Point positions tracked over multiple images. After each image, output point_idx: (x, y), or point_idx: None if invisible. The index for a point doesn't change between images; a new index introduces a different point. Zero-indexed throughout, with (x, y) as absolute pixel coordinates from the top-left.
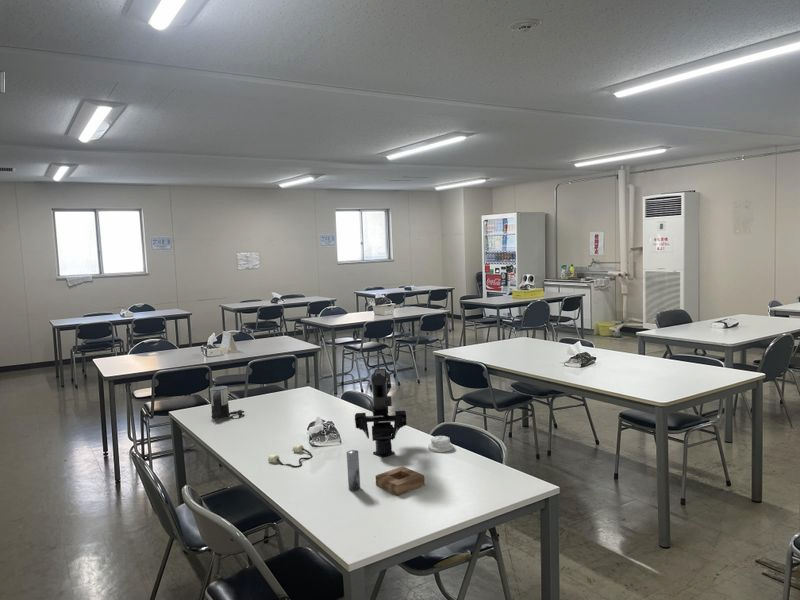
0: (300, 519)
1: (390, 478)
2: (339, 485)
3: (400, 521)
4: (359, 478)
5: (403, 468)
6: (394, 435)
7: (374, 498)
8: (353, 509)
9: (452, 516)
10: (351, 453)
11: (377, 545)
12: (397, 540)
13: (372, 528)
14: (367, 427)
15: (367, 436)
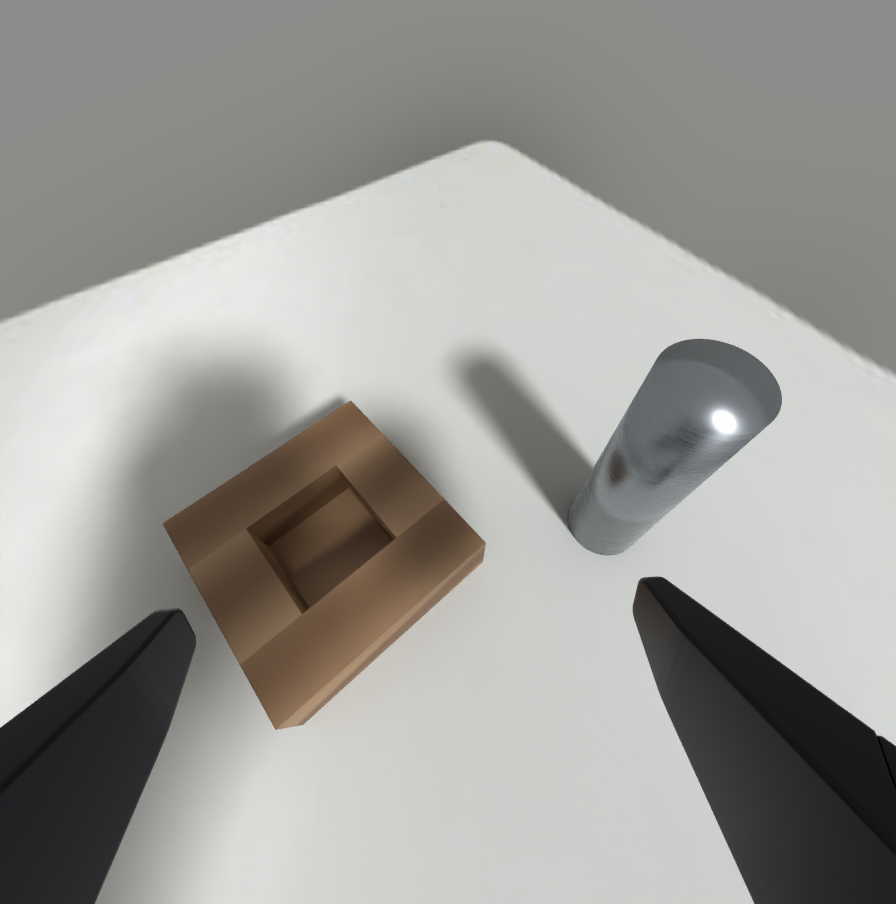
0: (723, 278)
1: (383, 488)
2: (715, 577)
3: (365, 261)
4: (584, 491)
5: (274, 666)
6: (165, 612)
7: (471, 410)
8: (545, 330)
9: (187, 281)
10: (707, 352)
11: (432, 178)
12: (380, 192)
13: (454, 233)
14: (835, 777)
15: (667, 587)
